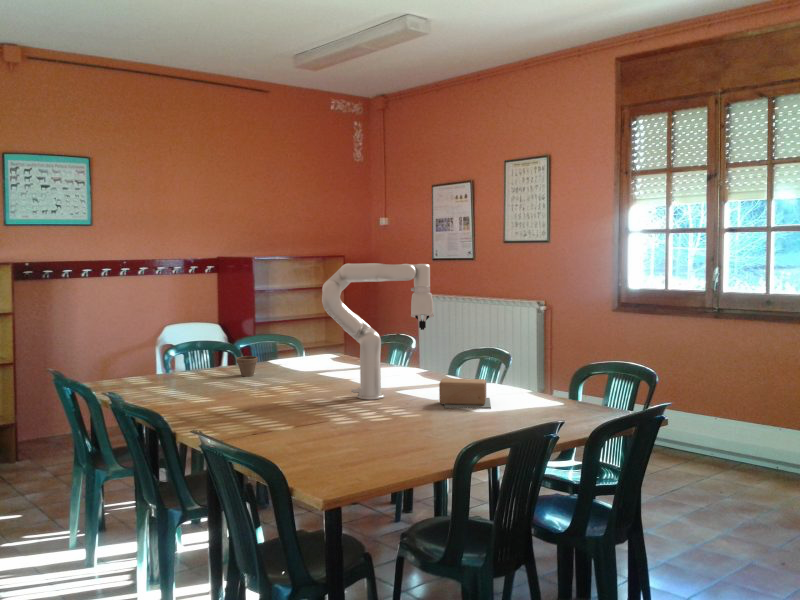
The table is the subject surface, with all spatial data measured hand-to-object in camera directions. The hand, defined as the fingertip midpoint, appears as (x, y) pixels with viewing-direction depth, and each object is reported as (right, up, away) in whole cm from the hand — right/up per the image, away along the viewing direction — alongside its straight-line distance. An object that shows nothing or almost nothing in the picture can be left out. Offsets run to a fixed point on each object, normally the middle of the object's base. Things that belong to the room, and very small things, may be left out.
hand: (422, 329), depth 360 cm
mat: (+20, -32, -17) cm, 42 cm away
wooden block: (+7, -27, -17) cm, 33 cm away
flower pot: (-94, -28, +61) cm, 115 cm away
